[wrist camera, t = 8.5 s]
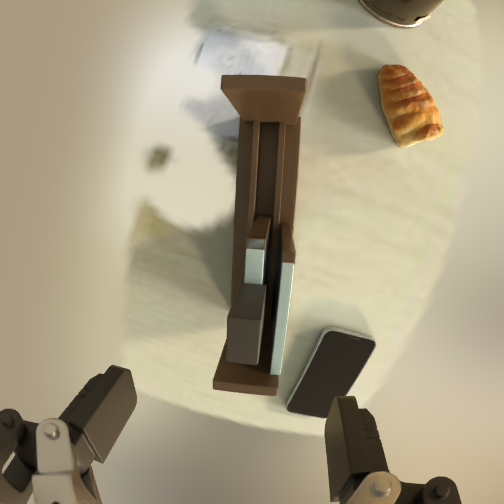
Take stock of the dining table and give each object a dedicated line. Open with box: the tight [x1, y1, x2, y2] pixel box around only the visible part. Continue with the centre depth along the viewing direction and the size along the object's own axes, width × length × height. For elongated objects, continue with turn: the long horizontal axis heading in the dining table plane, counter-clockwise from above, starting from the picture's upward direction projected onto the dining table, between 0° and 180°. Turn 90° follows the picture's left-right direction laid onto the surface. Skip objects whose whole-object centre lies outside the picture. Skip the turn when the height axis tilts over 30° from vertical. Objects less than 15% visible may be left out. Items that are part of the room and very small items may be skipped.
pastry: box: [378, 64, 443, 148], centre depth 23 cm, size 9×7×4 cm
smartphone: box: [286, 327, 376, 418], centre depth 34 cm, size 7×1×15 cm
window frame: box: [213, 75, 307, 396], centre depth 24 cm, size 6×22×14 cm, turn 177°
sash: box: [226, 215, 271, 365], centre depth 22 cm, size 2×9×15 cm, turn 176°
